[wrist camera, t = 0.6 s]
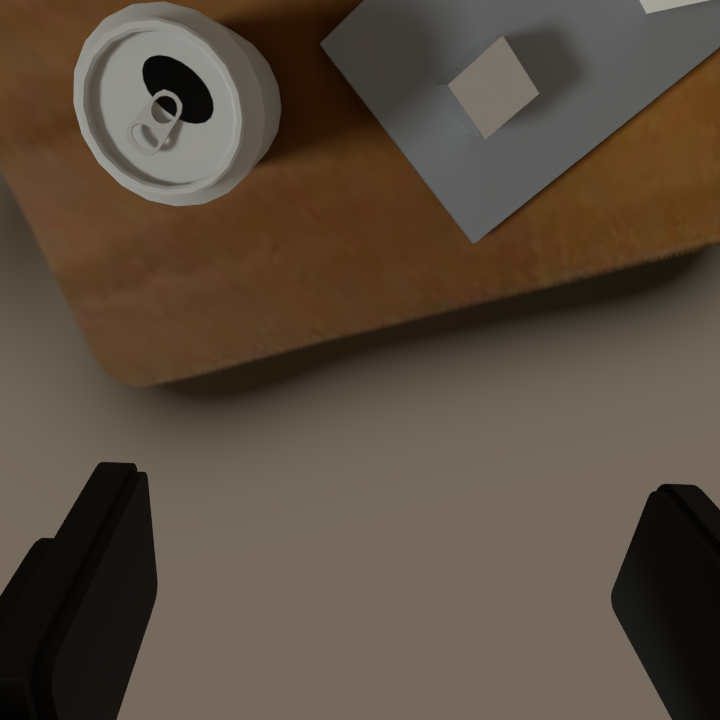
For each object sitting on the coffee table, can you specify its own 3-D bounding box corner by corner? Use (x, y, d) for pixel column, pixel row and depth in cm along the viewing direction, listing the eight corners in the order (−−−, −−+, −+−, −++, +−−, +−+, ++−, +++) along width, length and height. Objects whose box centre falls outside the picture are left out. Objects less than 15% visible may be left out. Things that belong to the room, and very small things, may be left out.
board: (683, -314, 26) (703, -336, 24) (798, -29, 31) (819, -34, 29) (319, 45, 31) (319, 43, 30) (468, 238, 36) (473, 244, 35)
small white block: (481, 41, 30) (502, 35, 26) (514, 92, 31) (539, 93, 28) (433, 84, 31) (447, 84, 27) (467, 133, 32) (485, 139, 28)
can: (309, 94, 32) (301, 100, 21) (231, 199, 34) (189, 252, 24) (196, -8, 30) (122, -60, 19) (121, 111, 32) (16, 125, 21)
